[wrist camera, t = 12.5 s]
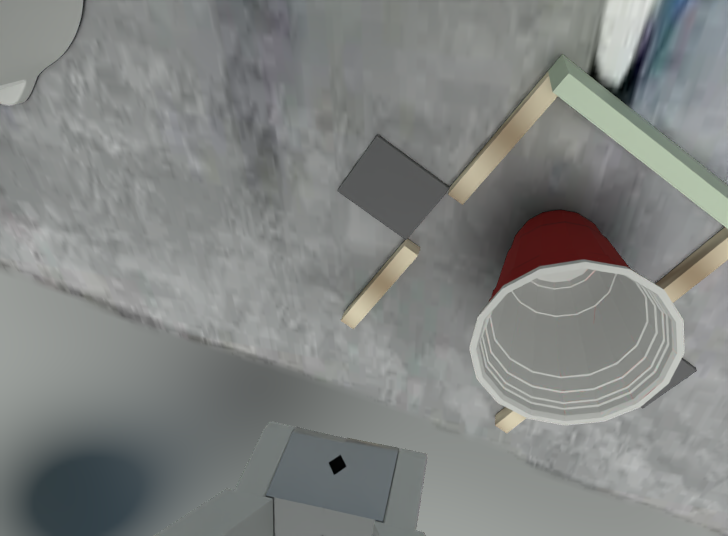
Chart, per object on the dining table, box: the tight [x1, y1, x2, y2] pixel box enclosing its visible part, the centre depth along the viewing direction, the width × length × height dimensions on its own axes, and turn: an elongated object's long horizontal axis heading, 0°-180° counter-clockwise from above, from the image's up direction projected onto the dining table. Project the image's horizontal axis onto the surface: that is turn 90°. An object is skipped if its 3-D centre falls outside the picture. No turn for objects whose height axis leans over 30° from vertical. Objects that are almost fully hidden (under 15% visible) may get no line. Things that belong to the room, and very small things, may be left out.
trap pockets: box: [338, 135, 697, 408], centre depth 44 cm, size 5×28×1 cm, turn 56°
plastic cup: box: [469, 210, 684, 425], centre depth 37 cm, size 11×11×12 cm
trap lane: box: [341, 72, 728, 433], centre depth 43 cm, size 23×16×1 cm
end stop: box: [548, 54, 728, 229], centre depth 35 cm, size 1×16×5 cm, turn 56°
